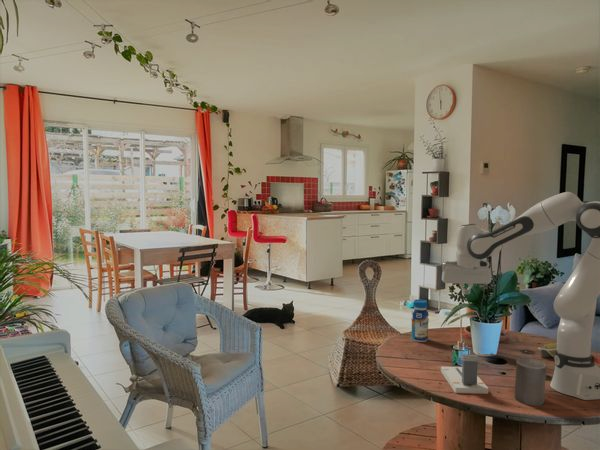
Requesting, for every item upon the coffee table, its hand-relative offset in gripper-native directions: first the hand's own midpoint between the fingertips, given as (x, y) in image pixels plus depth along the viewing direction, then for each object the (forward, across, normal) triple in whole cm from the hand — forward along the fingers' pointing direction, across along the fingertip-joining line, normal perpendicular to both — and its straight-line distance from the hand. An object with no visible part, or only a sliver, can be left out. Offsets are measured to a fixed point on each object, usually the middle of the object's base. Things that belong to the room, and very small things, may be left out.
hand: (465, 293), depth 199 cm
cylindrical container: (+31, +13, +14) cm, 37 cm away
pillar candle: (+31, +13, -34) cm, 48 cm away
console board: (+31, -6, -19) cm, 37 cm away
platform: (+32, +42, +11) cm, 53 cm away
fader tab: (+29, -6, -26) cm, 39 cm away
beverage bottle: (+31, -12, +33) cm, 47 cm away
